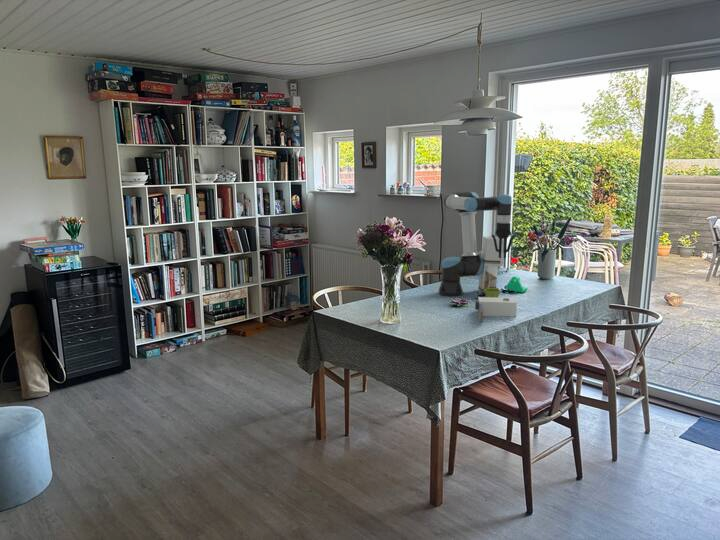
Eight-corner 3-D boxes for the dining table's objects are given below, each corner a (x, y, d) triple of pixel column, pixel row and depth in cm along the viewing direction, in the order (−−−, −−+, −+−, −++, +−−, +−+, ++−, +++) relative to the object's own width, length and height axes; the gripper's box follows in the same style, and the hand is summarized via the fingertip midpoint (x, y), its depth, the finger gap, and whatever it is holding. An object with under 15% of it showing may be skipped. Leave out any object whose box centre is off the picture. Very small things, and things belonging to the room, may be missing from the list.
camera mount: (527, 291, 351) (528, 276, 348) (522, 293, 345) (523, 278, 343) (510, 288, 359) (511, 273, 357) (505, 290, 353) (505, 275, 351)
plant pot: (493, 301, 328) (494, 287, 326) (503, 305, 319) (503, 290, 317) (480, 303, 324) (480, 289, 323) (489, 306, 316) (490, 292, 314)
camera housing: (475, 315, 299) (476, 300, 297) (474, 310, 309) (475, 295, 307) (515, 316, 296) (516, 301, 294) (513, 311, 306) (514, 296, 304)
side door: (477, 314, 299) (478, 303, 297) (481, 314, 298) (481, 303, 297) (479, 323, 282) (479, 312, 281) (483, 323, 282) (483, 312, 281)
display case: (482, 292, 345) (487, 238, 338) (478, 289, 355) (482, 236, 349) (500, 293, 346) (505, 239, 339) (495, 289, 356) (500, 237, 349)
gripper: (492, 223, 300) (490, 264, 304) (516, 223, 298) (514, 265, 302) (491, 221, 307) (489, 262, 312) (514, 221, 305) (512, 262, 310)
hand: (501, 263), depth 307 cm, fingers closed
